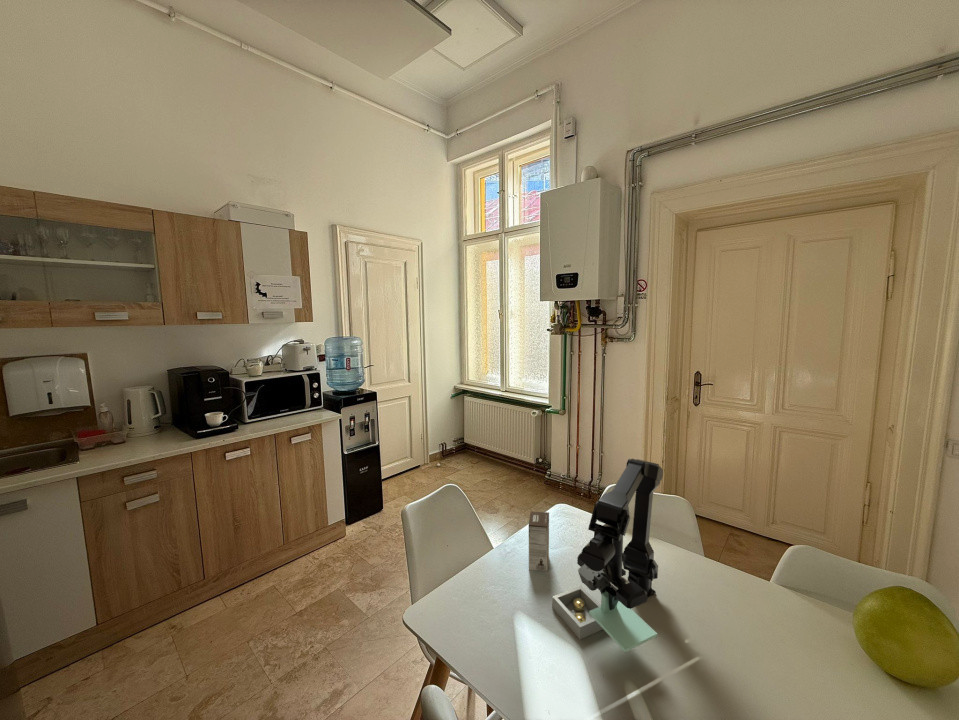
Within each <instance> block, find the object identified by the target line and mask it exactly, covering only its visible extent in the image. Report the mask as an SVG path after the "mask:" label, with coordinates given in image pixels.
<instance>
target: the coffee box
mask: <svg viewBox="0 0 959 720" xmlns="http://www.w3.org/2000/svg"><path fill="white" fill-rule="evenodd" d="M549 552H550V512H547V511H530V515H529V520H528V571H533V570H534V571H545V572H548V570H549V561H550V560H549V559H550V557H549V556H550V553H549Z"/></svg>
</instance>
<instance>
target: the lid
mask: <svg viewBox="0 0 959 720" xmlns="http://www.w3.org/2000/svg"><path fill="white" fill-rule="evenodd" d="M600 605H601V606H600V607H598V608H595V609H593V610H590V611H589V614H590V615H591V616H592V617H593V618H594V619H595V621H596V622H597V623H598V624H599V625H600V626H601V627H602V628H603V630H604V632H606V634H607V636H609V637H610V638H611V639H612V640H613V641H614V643H615V644H616V645H618V646H619V648H620V649H621V650H623V652H624V653H626V652H629V651H631V650H633V649H635V648H637V647H639V646H640V645H643V644H645V643H647V642H650V640H653V639H655V638H656V637H658V633H657V632H656V631H655V630H654V629H653V628H652V627H651V626H650V625H649V624H648V623H647V622H645V620H644V619H643V618H642V617H640V616H639V615H638V613H636V612H635V611H634V610H633V608H631V609H629V608H626V607H625V606H624V605H623V604H622V603H621V602H620V601H618V603H617V605H616V606H615V608H614V609H613V610H610V609H609V594H608V592H604V593H602V595H601V602H600Z"/></svg>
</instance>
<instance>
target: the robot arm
mask: <svg viewBox="0 0 959 720" xmlns="http://www.w3.org/2000/svg"><path fill="white" fill-rule="evenodd" d="M663 477H664V470H663V468H662V467H660V464H659V463H657V462H650V461H647V460H643V459H638V458H637V459H636V458H628V460H627V461H626V467H625V468H624V470H623V472H622V474H620V477H619V479H618V480H617V482H616V484H615V485H614V487H613V489H612V490H610V491H607V492H605V493H603V494H602V495H601V497H599V499H598V500H597V501H596V502H595V504H594V507H593V510H592V514H591V517H590V521H589V523H588V524H589V525H588V528H587V530H588V531H591V532H593V538H591V539H590V540H589V542H588V543H586V545H585V546H583V548H582V549H581V553H579V554H578V556H577V557H576V558H577V561H576V563H577V565H578V566H579V568H578V569H577V571H578V576H579V579H580V581H581V583H582V584H584V585H585V586H586V587H587V588H588V589H589V590H590V591H593V592H594V591H596V590H597V589H598V590H599V592H600V595H601V596H602V593H604V592H608V594H609V609H610V610H613V609H614V608H615V606H616V605H617V603H618V601H620V602H621V603H622V604H623V605H624V606H625V607H626V608H629V609H634V608H635V607H638V606H640V605H642V604H645V603H647V602H648V598H649V597H651V596H654V595H655V594H656V593H657V592H656V590H655V589H653V588H652V585H653V584H652V582H653V581H654V580H657V579H658V578H659V577H658V576H659V564H658V563H657V561H656V560H655V559H654V556H655V552H654V549H653V547H652V544H651V543H650V532H651V531H650V530H651V520H652V519H651V518H652V509H653V498H654V492H655V491H656V489H657V488H658V487H659V486H660V484H661V482H662V479H663ZM634 495H635V499H634V510H633V512H634V513H633V521H632V532H631V540H630V541H629V542H628V543H627V544H626V546H625V547H624V537H625V536H626V535H627V534H626V533H627V530H628V527H629V524H630V520H631V516H630V507H629V506H630V502H631V501H632V498H633V496H634ZM597 522H599V523H602V524H603V525H602V524H599V523H597ZM627 571H628V575H627V579H626V578H625V577H623V576H626V574H627Z"/></svg>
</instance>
